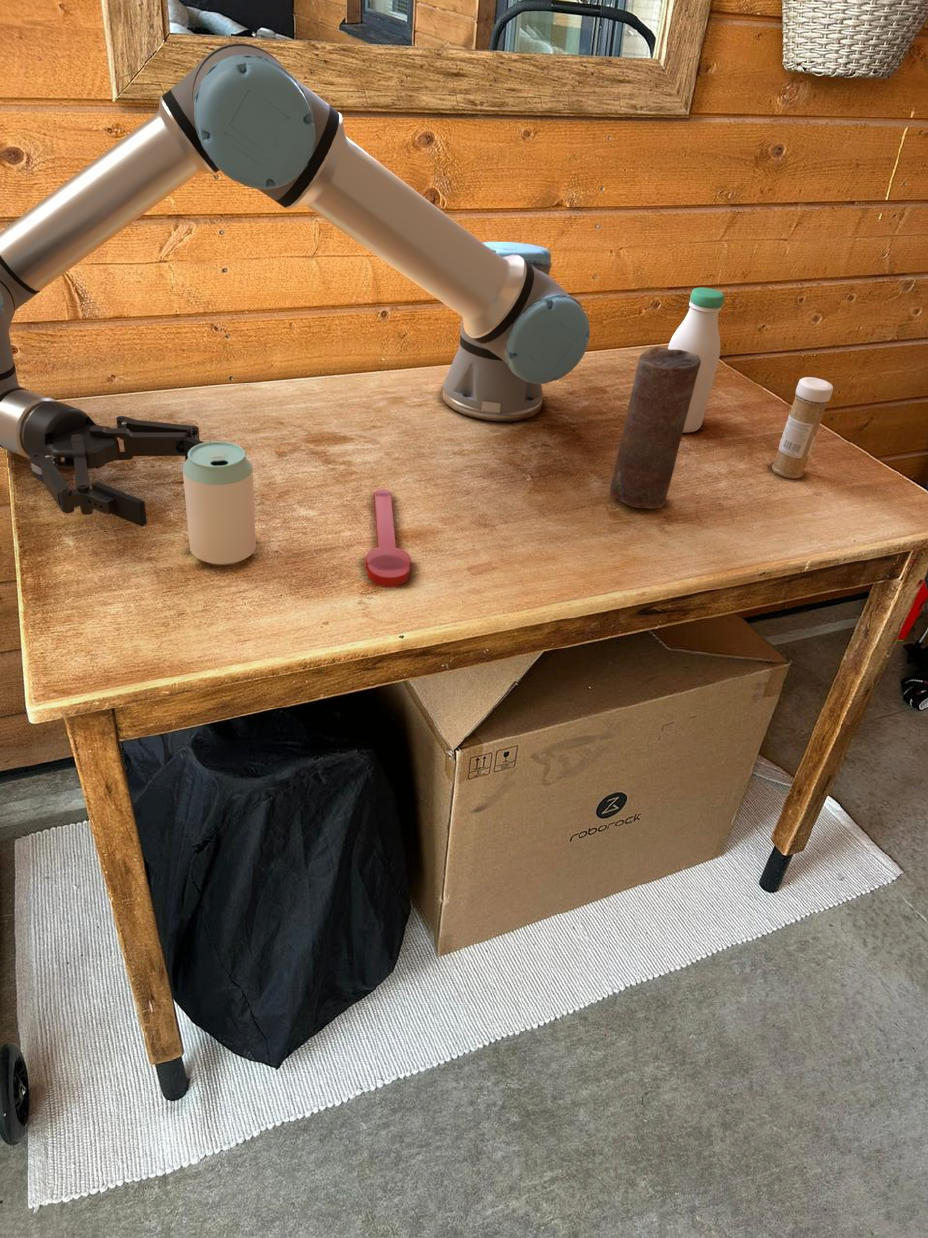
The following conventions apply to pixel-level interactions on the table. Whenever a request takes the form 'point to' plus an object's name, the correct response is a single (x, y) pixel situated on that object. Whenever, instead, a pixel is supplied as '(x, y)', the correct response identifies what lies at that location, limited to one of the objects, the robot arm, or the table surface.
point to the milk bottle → (700, 348)
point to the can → (219, 503)
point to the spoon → (386, 547)
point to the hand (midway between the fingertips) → (189, 488)
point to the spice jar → (802, 427)
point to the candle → (654, 426)
